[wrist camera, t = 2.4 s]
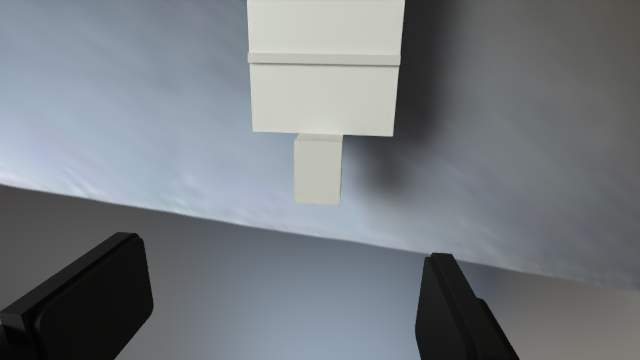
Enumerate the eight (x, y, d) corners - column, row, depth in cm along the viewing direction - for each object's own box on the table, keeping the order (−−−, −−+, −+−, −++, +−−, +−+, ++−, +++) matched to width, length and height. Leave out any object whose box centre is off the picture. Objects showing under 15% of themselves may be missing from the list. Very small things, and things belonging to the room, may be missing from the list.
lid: (414, -124, 19) (427, -167, 15) (386, 190, 25) (392, 208, 21) (245, -120, 19) (224, -160, 16) (258, 183, 25) (244, 200, 22)
